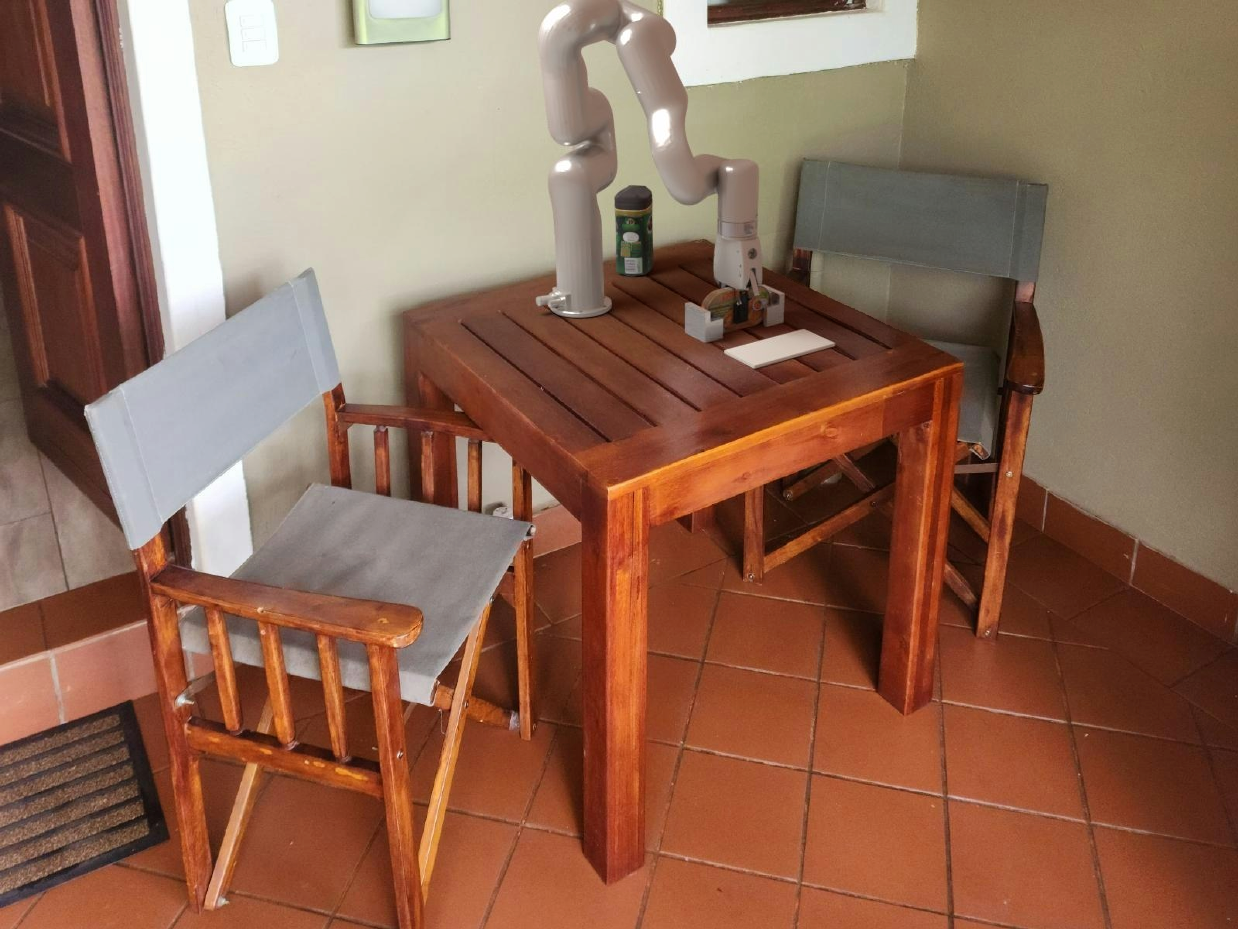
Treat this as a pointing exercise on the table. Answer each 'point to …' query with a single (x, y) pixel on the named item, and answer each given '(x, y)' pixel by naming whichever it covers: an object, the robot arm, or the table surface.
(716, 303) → the tin
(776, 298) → the end brackets
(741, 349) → the mat
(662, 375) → the table surface
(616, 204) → the coffee jar
